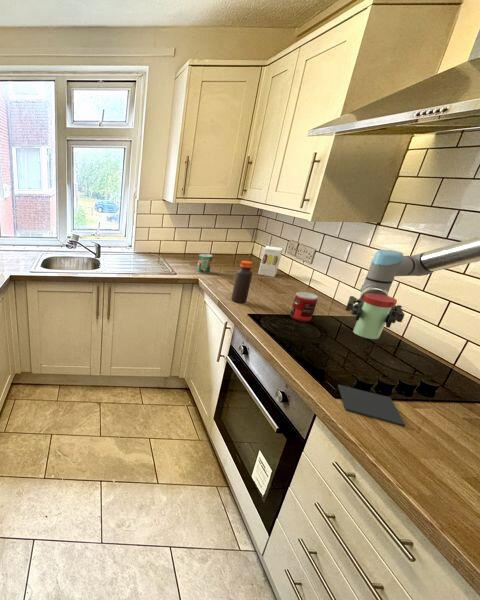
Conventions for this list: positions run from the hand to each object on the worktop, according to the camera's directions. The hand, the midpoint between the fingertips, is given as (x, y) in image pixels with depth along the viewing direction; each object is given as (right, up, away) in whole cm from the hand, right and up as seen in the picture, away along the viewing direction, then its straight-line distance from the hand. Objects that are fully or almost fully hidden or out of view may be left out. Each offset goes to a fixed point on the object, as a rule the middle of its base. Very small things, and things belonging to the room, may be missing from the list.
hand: (373, 319), depth 97 cm
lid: (+3, +7, +1) cm, 8 cm away
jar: (+3, -5, +6) cm, 9 cm away
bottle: (-11, +6, +60) cm, 62 cm away
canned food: (+7, -2, +42) cm, 43 cm away
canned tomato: (-11, +24, +105) cm, 109 cm away
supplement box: (+28, +22, +101) cm, 108 cm away
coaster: (-10, -23, -9) cm, 27 cm away
